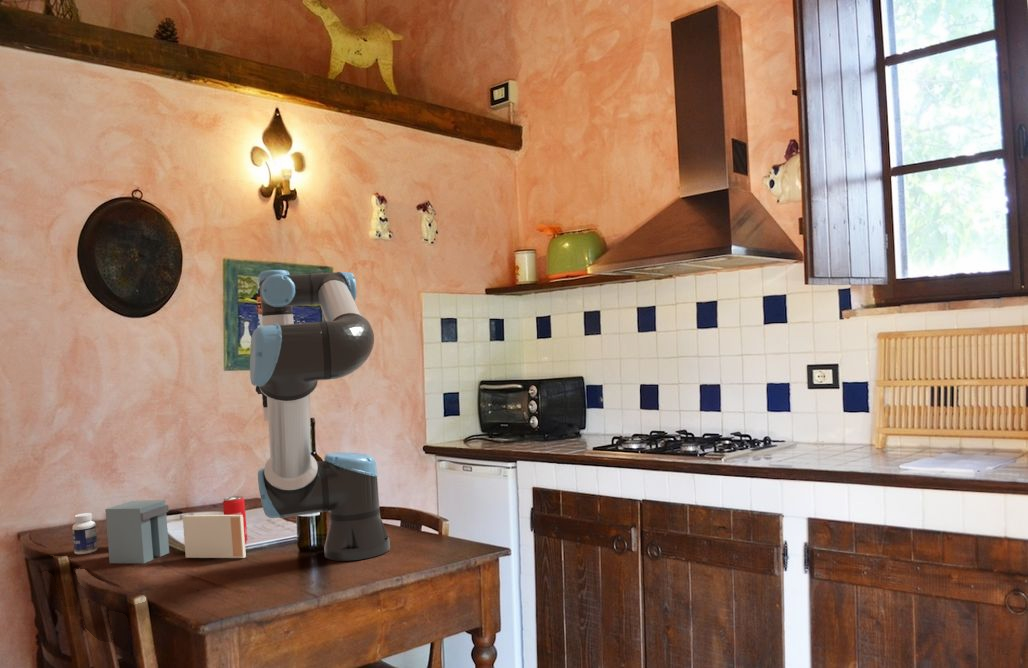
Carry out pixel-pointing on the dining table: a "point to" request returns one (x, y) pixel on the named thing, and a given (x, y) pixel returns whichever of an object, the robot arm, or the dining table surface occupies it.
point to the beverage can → (236, 509)
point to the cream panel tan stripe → (214, 536)
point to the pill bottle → (84, 534)
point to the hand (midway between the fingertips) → (285, 417)
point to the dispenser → (137, 531)
